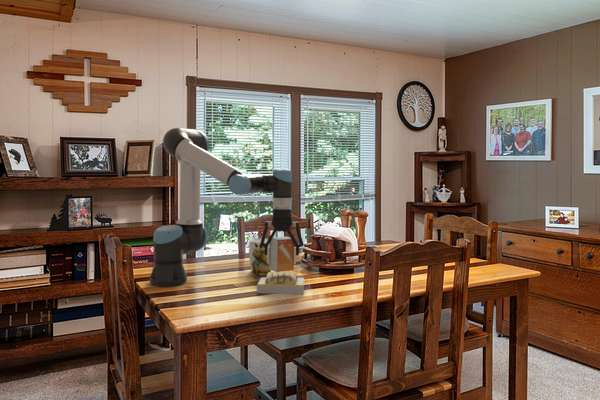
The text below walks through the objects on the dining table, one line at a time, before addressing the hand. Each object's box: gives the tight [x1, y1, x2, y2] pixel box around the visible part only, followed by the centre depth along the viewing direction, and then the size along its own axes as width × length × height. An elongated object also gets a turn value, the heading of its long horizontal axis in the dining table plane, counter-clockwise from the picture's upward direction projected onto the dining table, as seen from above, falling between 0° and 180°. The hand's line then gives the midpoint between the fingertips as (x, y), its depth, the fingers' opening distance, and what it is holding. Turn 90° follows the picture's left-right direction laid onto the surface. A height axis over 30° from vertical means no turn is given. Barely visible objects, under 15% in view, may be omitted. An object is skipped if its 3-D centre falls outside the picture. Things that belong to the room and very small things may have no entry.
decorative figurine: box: [251, 243, 272, 280], centre depth 222 cm, size 10×8×15 cm
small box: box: [269, 236, 295, 273], centre depth 200 cm, size 8×6×13 cm
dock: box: [256, 277, 305, 295], centre depth 201 cm, size 18×14×4 cm
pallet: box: [265, 271, 298, 284], centre depth 201 cm, size 12×12×2 cm
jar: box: [248, 237, 270, 273], centre depth 232 cm, size 11×10×15 cm
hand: (281, 263), depth 200 cm, fingers closed on small box, 10 cm apart
